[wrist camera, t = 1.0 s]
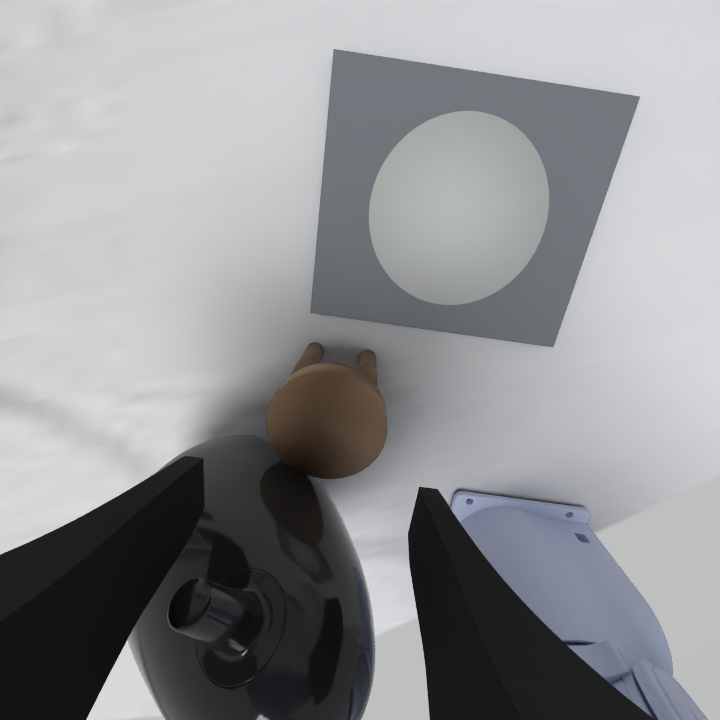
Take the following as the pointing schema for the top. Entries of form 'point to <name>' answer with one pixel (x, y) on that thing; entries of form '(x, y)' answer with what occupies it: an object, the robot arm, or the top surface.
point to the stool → (328, 416)
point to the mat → (460, 196)
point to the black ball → (259, 600)
